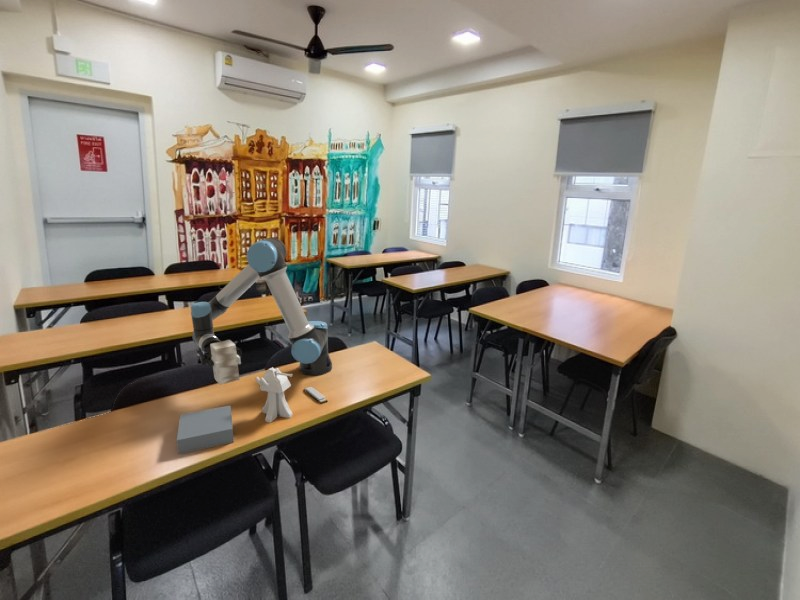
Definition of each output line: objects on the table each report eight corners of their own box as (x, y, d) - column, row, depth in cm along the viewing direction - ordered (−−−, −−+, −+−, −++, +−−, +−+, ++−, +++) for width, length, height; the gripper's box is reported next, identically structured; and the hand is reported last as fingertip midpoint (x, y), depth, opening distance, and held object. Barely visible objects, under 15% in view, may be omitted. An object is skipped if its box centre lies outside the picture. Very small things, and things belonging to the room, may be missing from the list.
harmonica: (327, 402, 155) (327, 398, 155) (321, 405, 154) (320, 400, 153) (310, 389, 166) (310, 384, 166) (303, 391, 164) (303, 386, 164)
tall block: (233, 373, 153) (229, 339, 149) (239, 379, 147) (235, 345, 144) (214, 378, 148) (210, 343, 145) (219, 385, 143) (215, 349, 139)
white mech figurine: (285, 425, 139) (282, 379, 134) (253, 419, 142) (249, 373, 138) (302, 409, 150) (300, 365, 145) (272, 403, 153) (269, 360, 149)
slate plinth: (231, 417, 143) (230, 405, 142) (233, 442, 129) (232, 428, 128) (182, 427, 136) (180, 414, 135) (178, 454, 122) (176, 440, 121)
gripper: (237, 348, 166) (256, 365, 149) (185, 360, 154) (200, 380, 137) (235, 331, 164) (255, 347, 147) (182, 342, 152) (197, 361, 135)
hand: (228, 363), depth 142 cm, fingers closed on tall block, 7 cm apart
